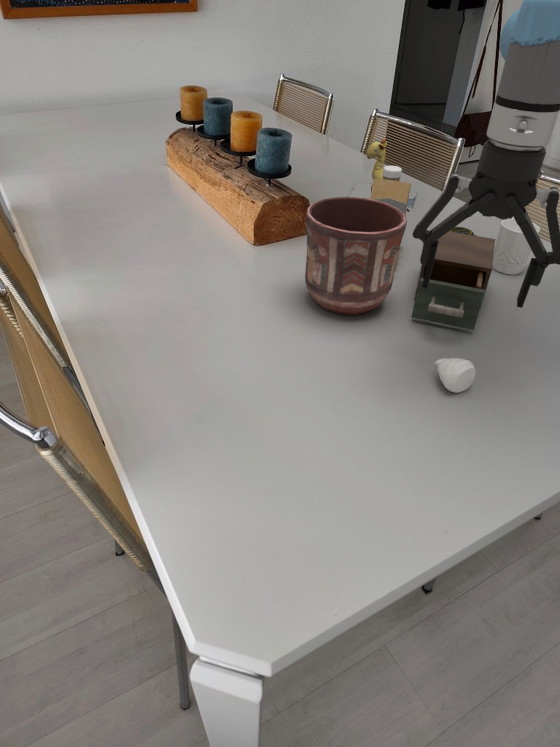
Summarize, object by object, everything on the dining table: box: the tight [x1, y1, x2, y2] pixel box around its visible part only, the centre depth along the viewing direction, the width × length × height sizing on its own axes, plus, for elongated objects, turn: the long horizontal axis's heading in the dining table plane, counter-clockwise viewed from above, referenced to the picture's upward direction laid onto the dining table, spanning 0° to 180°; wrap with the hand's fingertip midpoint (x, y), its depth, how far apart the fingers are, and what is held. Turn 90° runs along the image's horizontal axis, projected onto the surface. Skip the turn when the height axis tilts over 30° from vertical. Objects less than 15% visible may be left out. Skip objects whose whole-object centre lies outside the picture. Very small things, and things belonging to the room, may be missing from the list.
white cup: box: [492, 218, 541, 276], centre depth 119 cm, size 8×8×10 cm
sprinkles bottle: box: [383, 165, 403, 182], centre depth 138 cm, size 5×5×13 cm
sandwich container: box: [370, 179, 412, 269], centre depth 120 cm, size 9×15×15 cm, turn 166°
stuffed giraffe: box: [366, 137, 416, 209], centre depth 151 cm, size 16×18×16 cm
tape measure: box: [450, 226, 478, 236], centre depth 129 cm, size 7×7×4 cm
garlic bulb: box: [434, 357, 477, 393], centre depth 86 cm, size 6×6×5 cm
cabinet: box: [413, 231, 496, 302], centre depth 110 cm, size 15×13×10 cm
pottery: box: [304, 196, 408, 316], centre depth 102 cm, size 18×18×18 cm
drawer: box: [411, 263, 486, 331], centre depth 102 cm, size 18×11×8 cm, turn 160°
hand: (471, 293), depth 81 cm, fingers open, 13 cm apart
